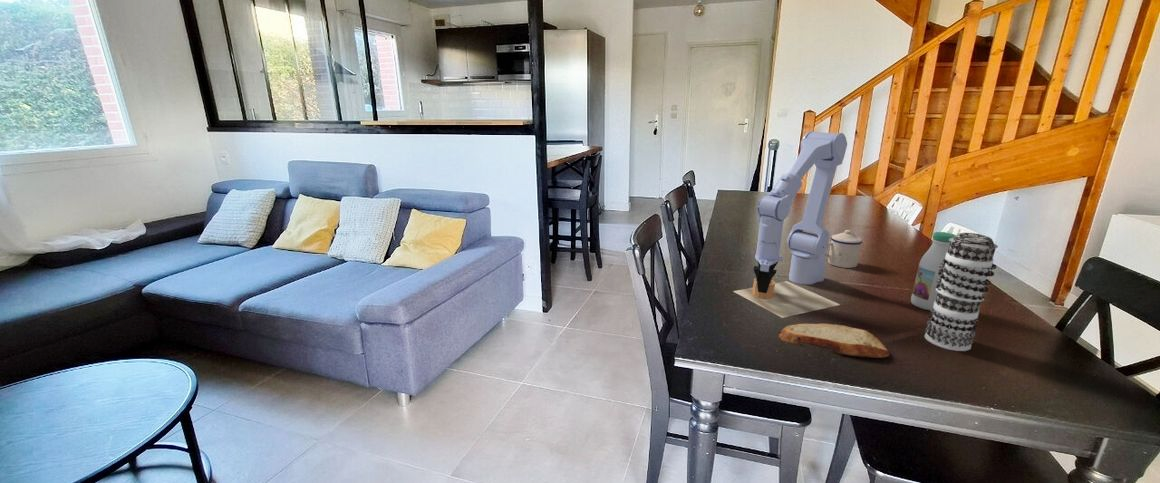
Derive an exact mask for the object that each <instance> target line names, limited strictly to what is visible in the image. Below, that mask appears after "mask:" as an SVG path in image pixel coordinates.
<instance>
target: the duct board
mask: <svg viewBox="0 0 1160 483" xmlns="http://www.w3.org/2000/svg"><path fill="white" fill-rule="evenodd" d="M752 291H753V287H748V288H744V289H743V288H742V289H737V290H733V291H732V292H733V293H735V294H737V295H739V296H741V297H743V298H745V299H747V300H748V301H749V302H752V303H754V304H756V305H757V306H759V307H762V309H764V310H766V311H768V312H771V313H773V315H776V316H778V317H780V318H781V319H784V318H785V319H786V318H788V317H789V318H790V317H793V316H797V315H801V314H805V313H810V312H814V311H819V310H824V309H828V308H833V307H836V306H840V305H841V303H838V302H835V301H834V300H831V299H829V298H826V297H824V296H821V295H819V294H817V293H815V292H813V291H810V290H808V289H805V288H803V287H802V286H800V285H796V283H792V282H790V281H788V280H785V281H780V282H775V287H774V295H773V297H772V298H770V299H764V298H759V297H756V296H754V295H753V294H752Z"/></svg>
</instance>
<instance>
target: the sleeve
mask: <svg viewBox="0 0 1160 483" xmlns="http://www.w3.org/2000/svg"><path fill="white" fill-rule="evenodd" d="M775 283H776V281H775V280H774V279H773V278H772V279H771V282H770V284H769V288H768V290H767V293H761V292H758V288H757V278H756V277H755V278H754V279H753V284H752V288H753V291H752V294H753V295H754V296H756V297H759V298H764V299H770V298H772V297H773V295H774V287H775Z"/></svg>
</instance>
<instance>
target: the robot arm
mask: <svg viewBox="0 0 1160 483" xmlns="http://www.w3.org/2000/svg"><path fill="white" fill-rule="evenodd" d="M847 148H848V142H847V137H846V135H845V133H843V132H819V131H811V130H810V131H808V132H806V133H805V135H803V137H802V139H801V142H800V153H799V154H798V156H797V158H796V160H795V162H794V164H793V165H792V166H791V168H790V171H789V172H788V173H783V174H782V175H781V176H780V177H779V179H778V181H777V182H776V183H775V185H774V186H773V188H772V189H771V190H770V192H769V194H766V195H764V196H762V197H761V198H760V199H759V200H758V203H757V205H756V214H757V221H758V223H759V227H758V235H757V236H758V237H757V243H756V244H757V246H756V253H755V255H754V258H755V261H756V262H757V265H754V266H753V273H754V274H755V278H757V288H758V292H761V293H767V290H768V288H769V284H770V282H771V279H772V280H773V278H774V276H776V273H777V269H775V267H776V266H777V265H778V263H779V262H781V263H782V262H784V257H783V256H780V250H781V244H782V236H783V227H784V221H785V219H786V218H787V217H788V216H789V214H790V212H791V207H792V205H793V200H794V198H795V197H796V195H797V194H798V192H799V191H800V190H801V188H802V187H803V182H802V179H803V178H804V177H805V176H806V174H808V172H809V171H810V169H812V168H813V166H814V165H815V170H814V175H813V180H812V183H811V186H810V190H809V193H808V194H809V195H808V198H807V202H806V206H805V210H804V214H803V218H802V220H801V221H799V222H798V223H795V224H793V225H792V228H791V231H790V232H789V234H788V237H787V238H786V245H787V248H788V249H789V252H790V254H791V261H790V267H789V268H790V269H789V274H788V279H789V281H791V282H793V283H794V284H800V285H814V284H815V283H819V282H820V283H821V282H823V281H824V280H825V272H826V267H827V261H826V258H825V256H824V254H826V253H827V251H828V248H829V247H830V245H829V242H830V241H829V239H830V232H829V230H828V229H827V228H826V227H825V226H824V224H823V220H824V216H825V213H826V209H827V204H828V201H829V199H830V198H829V197H830V195H831V194H830V193H831V190H832V186H833V184H834V179H835V177H836V176H835V175H836V171H837V169H838V166H840V165H842V164H843V161H844V158H845V156H846V155H845V154H846V151H847Z"/></svg>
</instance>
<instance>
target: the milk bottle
mask: <svg viewBox="0 0 1160 483" xmlns="http://www.w3.org/2000/svg"><path fill="white" fill-rule="evenodd" d="M955 235H956V234H954V233H950V232H946V231H935V232H934V233H933V234H932V240H931V241H932V243H931V246H930V247H929V248H928V250H927V251H926V252H925V253H924V254H923V256H922V257H921V259H920V261H919V264H918V268H917V271H916V276H915V281H914V283H913V288H912V293H911V297H910V302H911V304H912V305H914V307H916V308H919V309H922V310H926V311H930V310H931V308H932V307H933V306H934V302H935V300H936V298H937V294H938V292H937V291H936V288H935V287H937V286H936V285H937V281H938V278H940V276H939V274H938V272H939V270H940V268H939V266H940V264H941V263H944V262H943V261H942V260H943V259H945V257H946V253H947V251H948V249H949V245H950V241H949V238H953V237H954V236H955ZM945 260H946V259H945ZM944 267H945V265H944ZM942 274H943V273H942Z"/></svg>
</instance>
